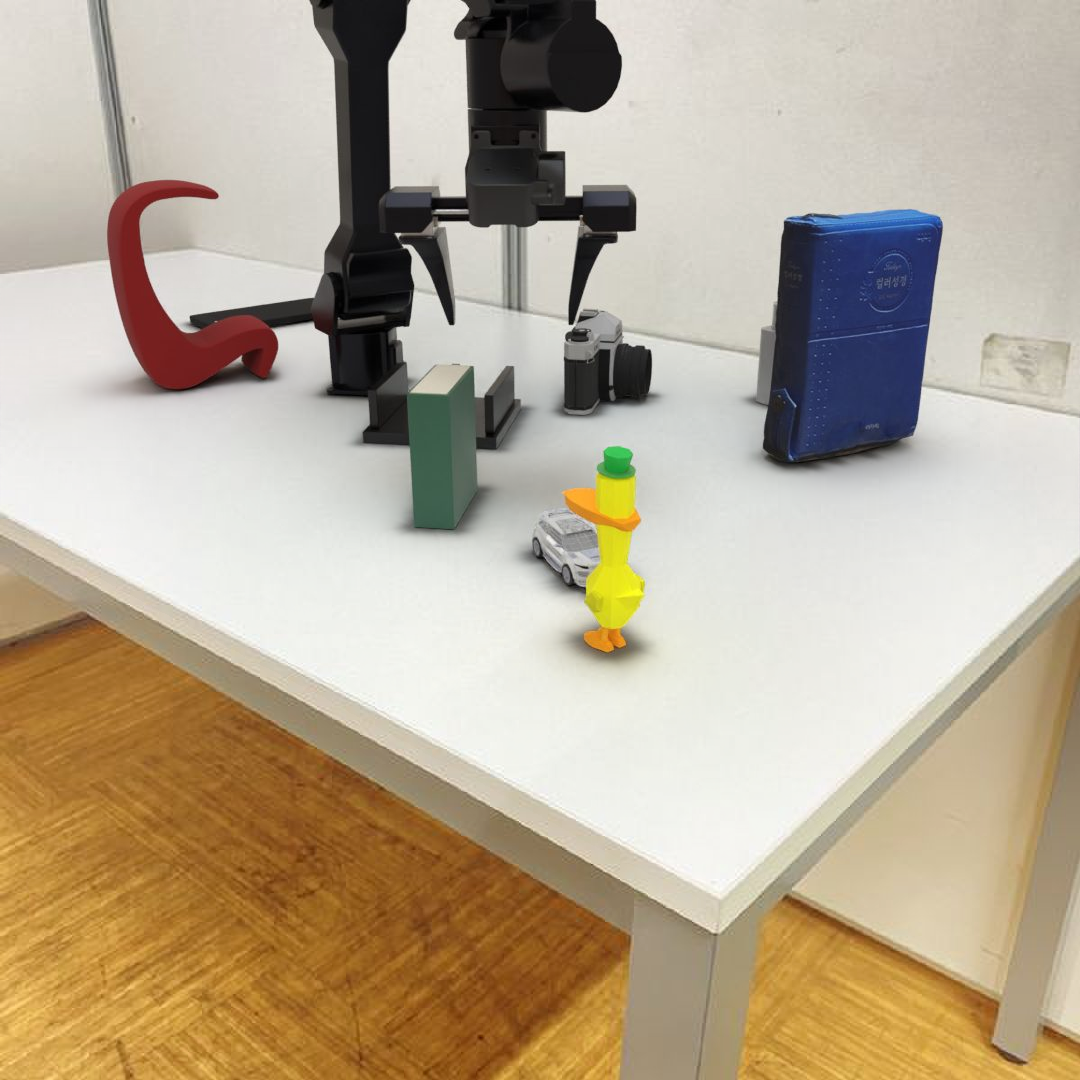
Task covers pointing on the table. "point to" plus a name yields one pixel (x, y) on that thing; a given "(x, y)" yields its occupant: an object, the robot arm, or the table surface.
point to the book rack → (393, 409)
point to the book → (850, 331)
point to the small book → (442, 445)
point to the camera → (602, 363)
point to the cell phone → (262, 313)
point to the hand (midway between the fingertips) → (511, 324)
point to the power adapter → (766, 360)
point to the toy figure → (611, 546)
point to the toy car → (567, 545)
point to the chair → (145, 321)
